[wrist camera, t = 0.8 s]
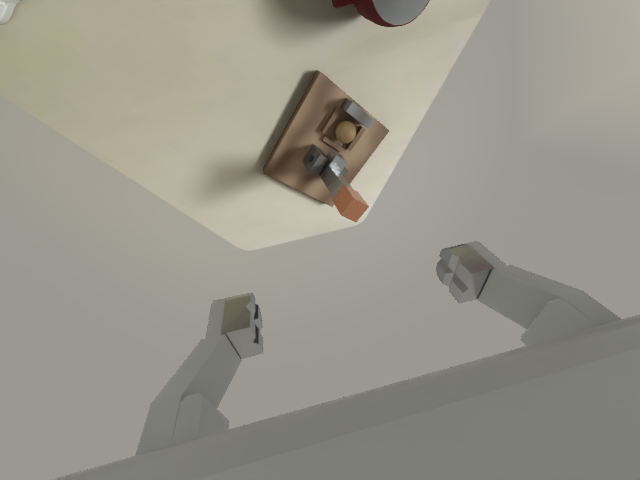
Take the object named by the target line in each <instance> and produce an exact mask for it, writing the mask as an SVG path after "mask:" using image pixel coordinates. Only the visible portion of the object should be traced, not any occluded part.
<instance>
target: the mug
mask: <svg viewBox="0 0 640 480" xmlns="http://www.w3.org/2000/svg"><path fill="white" fill-rule="evenodd" d="M428 2H429V0H332V3H333V6H334V7H335V8H339V7H343V6H346V5H349V4H352V3H354V5H355V7H356V9H357V10H358V12H359V13H360V14H361V15H362V16H363V17H364V18H366V19H368V20H370V21H372V22H374V23H375V24H378V25H380V26H385V27H396V26H402V25H406V24H408V23H410V22H411V21H413V20H414V19H415V18H417V17H418V16H419V15H420V14H421V12H422V11H423V10H424V9H425V7H426V6H427V4H428Z"/></svg>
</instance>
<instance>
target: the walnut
mask: <svg viewBox="0 0 640 480" xmlns="http://www.w3.org/2000/svg"><path fill="white" fill-rule="evenodd" d="M335 135H336V138H337V140H338V141H339V142H341V143H349V142H351V141H352V140H353V139H354V138H355V135H356V128H355V126H354V124H353V123H352V122H350V121H342V122H340V123H339V124H338V125H337V127H336V130H335Z"/></svg>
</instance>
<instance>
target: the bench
mask: <svg viewBox="0 0 640 480" xmlns="http://www.w3.org/2000/svg"><path fill="white" fill-rule="evenodd" d="M342 121H350V122H352V123H353V124H354V126H355V128H356V135H355V138H354V139H353V140H352V141H351V142H349V143H341V142H339V141H338V140H337V138H336V135H335V130H336V127H337V125H338V124H339V123H340V122H342ZM388 132H389V130H388V129H387V128H386V127H384V126H383V125H382V124H381V123H380V122H379V121H377V120H376V119H375V118H374V117H373V116H372V115H370V114H369V113H368V112H367V111H366V110H365V109H363V108H362V107H361V106H360V105H359V104H358V103H356V102H355V101H354V100H353V99H352V98H351V97H349V96H348V95H347V94H346V93H345V92H344V91H342V90H341V89H340V88H339V87H338V86H337V85H335V84H334V83H333V82H332V81H331V80H330V79H328V78H327V77H326V76H325V75H324V74H323V73H321V72H320V71H318V70H317V72H316V74H315V75H314V77H313V79H312V81H311V83H310V84H309V86H308V88H307V90H306V92H305V93H304V95H303V97H302V99H301V101H300V103H299V104H298V106H297V108H296V110H295V112H294V113H293V115H292V117H291V119H290V121H289V122H288V124H287V126H286V128H285V130H284V131H283V133H282V135H281V137H280V139H279V141H278V142H277V144H276V146H275V148H274V150H273V151H272V153H271V155H270V157H269V159H268V160H267V162H266V164H265V166H264V168H263V171H264V173H265V174H267V175H269V176H271V177H273V178H275V179H277V180H279V181H281V182H283V183H285V184H287V185H289V186H291V187H293V188H295V189H297V190H299V191H301V192H303V193H305V194H307V195H309V196H311V197H313V198H315V199H317V200H319V201H321V202H323V203H325V204H327V205H329V206H331V207H333V205H334V202H333V201H332V199H333V197H332V195H331V194H330V192H329V190H328V189H327V187H326V185H325V184H324V182H323V180H322V179H321V177H320V175H319V173H320V171H321V170H322V168H323V167H324V165H325V164H326V162H327V161H328V158H327V157H326V155H327V154H328V152H329V151H330V149H333V150H334V151H336V152H337V153H339V154H340V155H342V156H343V157H344V159H345V160H346V161H347V162H348V163H347V164H346V165H345V167H344V168H343V170H342V171H341V172H340V173H341V174H342V175H343V176H344V178H345V179H346V180H347V182H348V183H349V184H350V183H351V181H352V180H353V179H354V177H355V176H356V175H357V173H358V172H359V171H360V169H361V168H362V167H363V165H364V164H365V163H366V161H367V160H368V159H369V157H370V156H371V155H372V153H373V152H374V151H375V149H376V148H377V147H378V145H379V144H380V143H381V141H382V140H383V139H384V137H385V136H386V135H387V133H388Z"/></svg>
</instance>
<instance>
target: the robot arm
mask: <svg viewBox="0 0 640 480" xmlns="http://www.w3.org/2000/svg"><path fill="white" fill-rule="evenodd" d="M19 1H21V0H0V24H4V23H6V22H7V21H8V20H9V19H10V17H11V15H12V13H13V10H14V8H15V5H16V4H17V3H18V2H19ZM439 256H440V257H441V260H440V261H439V262H438V263H437V267H436V271H437V275H438V277H439V279H440V281H441V282H442V283H443V284H445V285H447V286H449V292H450V293H451V294H452V295H453V297H454V298H455V299H456V300H457V302H458V303H463V302H467V301H472V300H476V299H478V301H480V302H482V303H483V304H485V305H487V306H488V307H490V308H492V309H494V310H495V311H497V312H499V313H500V314H502V315H504V316H505V317H507V318H509V319H511V320H512V321H514V322H516V323H517V324H519V325H521V326H522V327H524V328H526V329H527V330H526V331H525V332H524V334H523V335H522V336H521V341H522V342H523V343H524V344H525V345H526V346H525V347H522V348H518V349H514V350H511V351H508V352H504V353H500V354H497V355H493V356H490V357H486V358H482V359H479V360H475V361H472V362H468V363H465V364H461V365H457V366H454V367H450V368H447V369H443V370H439V371H436V372H432V373H429V374H425V375H422V376H418V377H415V378H411V379H408V380H404V381H400V382H397V383H393V384H390V385H386V386H383V387H379V388H376V389H372V390H369V391H365V392H361V393H358V394H354V395H350V396H347V397H343V398H340V399H336V400H333V401H329V402H325V403H322V404H318V405H315V406H311V407H308V408H304V409H301V410H297V411H293V412H290V413H286V414H283V415H279V416H276V417H272V418H269V419H265V420H261V421H258V422H254V423H251V424H247V425H244V426H240V427H237V428H233V429H230V430H229V420H228V419H227V418H226V417H225V416H224V415H223V414H222V413H221V412H220V411H218V410H217V407H218V406H219V403H220V402H221V400H222V398H223V396H224V394H225V392H226V390H227V388H228V386H229V384H230V382H231V380H232V378H233V376H234V374H235V372H236V370H237V368H238V367H239V365H240V363H241V359H244V358H247V357H251V356H254V355H258V354H261V353H263V337H262V335H261V333H260V330H261V329H262V317H261V312H260V308H259V306H258V305H257V304H255V297H254V295H253V293H248V294H243V295H238V296H233V297H228V298H224V299H219V300H214V301H213V303H212V304H211V309H210V315H209V321H208V326H207V332H206V338H205V339H203V340H201V341H200V342H199V343H198V345H197V346H196V347H195V349H194V350H193V351H192V353H191V354H190V355H189V356H188V357H187V359H186V360H185V361H184V363H183V364H182V365H181V366H180V368H179V369H178V370H177V371H176V373H175V374H174V375H173V376H172V378H171V379H170V380H169V382H168V383H167V384H166V385H165V387H164V388H163V389H162V390H161V392H160V393H159V394H158V395H157V397H156V398H155V399H154V401H153V402H152V403H151V405H150V408H149V412H148V415H147V418H146V422H145V426H144V429H143V432H142V435H141V439H140V442H139V445H138V449H137V452H136V455H135V456H134V457H130V458H126V459H123V460H119V461H115V462H112V463H108V464H105V465H101V466H98V467H94V468H91V469H87V470H83V471H80V472H76V473H73V474H69V475H66V476H62V477H59V478H56V479H52V480H640V315H636V316H632V317H629V318H625V319H621V318H619V317H618V316H617V315H615V314H614V313H613V312H611V311H610V310H608V309H607V308H606V307H604V306H603V305H602V304H600V303H599V302H598V301H596V300H595V299H593V298H592V297H591V296H589V295H588V294H587V293H585V292H584V291H581V290H579V289H576V288H573V287H571V286H568V285H565V284H562V283H559V282H557V281H554V280H551V279H548V278H546V277H543V276H540V275H537V274H535V273H532V272H529V271H526V270H523V269H521V268H518V267H515V266H512V265H509V266H507V265H506V264H505V263H504V262H502V261H501V260H500V259H499V258H498V257H497V256H495V255H494V254H493V253H492V252H491V251H489V250H488V249H487V248H486V247H485V246H484V245H482V244H481V243H480V242H477V241H474V242H470V243H466V244H461V245H457V246H453V247H449V248H444V249H442V250H441V252H440V255H439Z"/></svg>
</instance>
